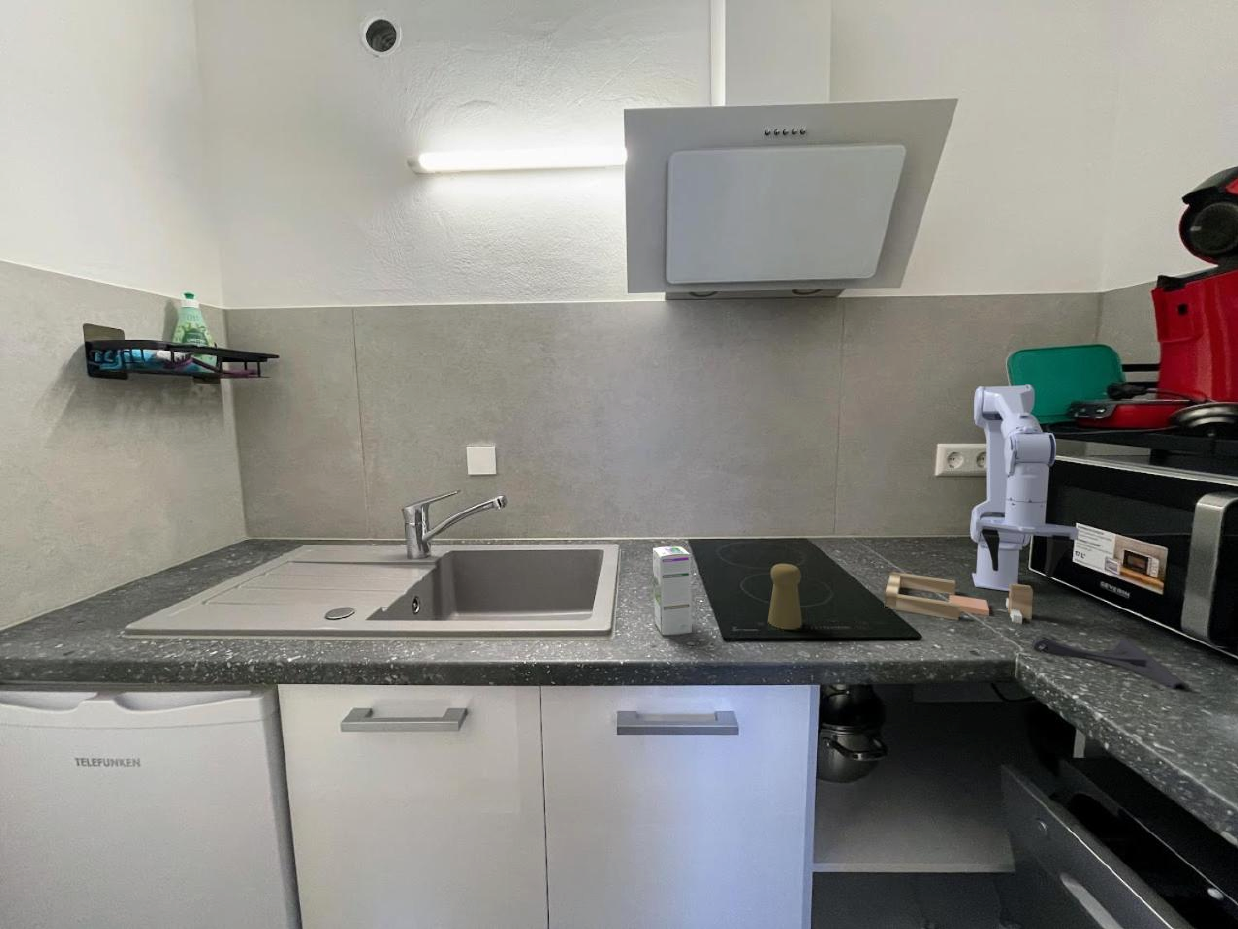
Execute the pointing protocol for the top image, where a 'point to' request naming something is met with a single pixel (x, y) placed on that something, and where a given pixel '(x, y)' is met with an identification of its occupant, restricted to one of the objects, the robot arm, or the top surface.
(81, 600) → the top surface
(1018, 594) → the wood block with post
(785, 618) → the cork
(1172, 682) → the bracket
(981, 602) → the terracotta tile
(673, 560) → the syrup box
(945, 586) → the tile rest
